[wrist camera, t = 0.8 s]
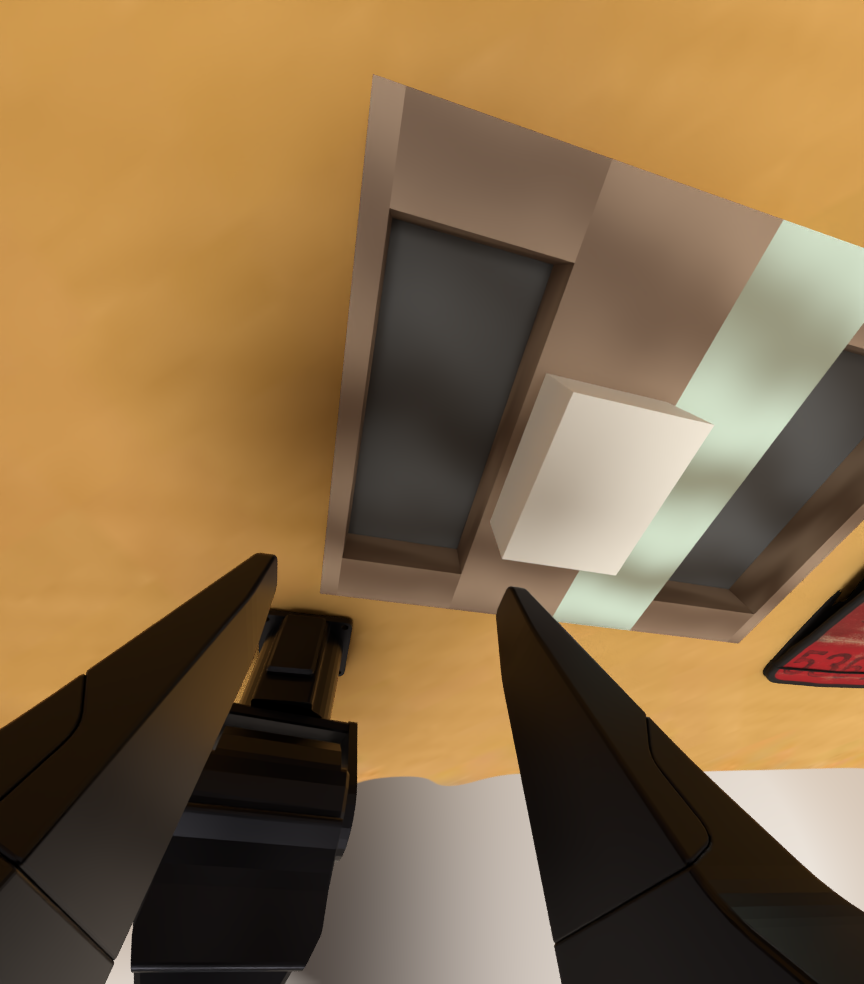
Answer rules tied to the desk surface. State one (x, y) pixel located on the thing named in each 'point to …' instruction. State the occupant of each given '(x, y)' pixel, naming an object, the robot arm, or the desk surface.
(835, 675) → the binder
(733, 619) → the trap deck
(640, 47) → the desk surface
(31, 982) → the robot arm
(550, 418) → the cream block
